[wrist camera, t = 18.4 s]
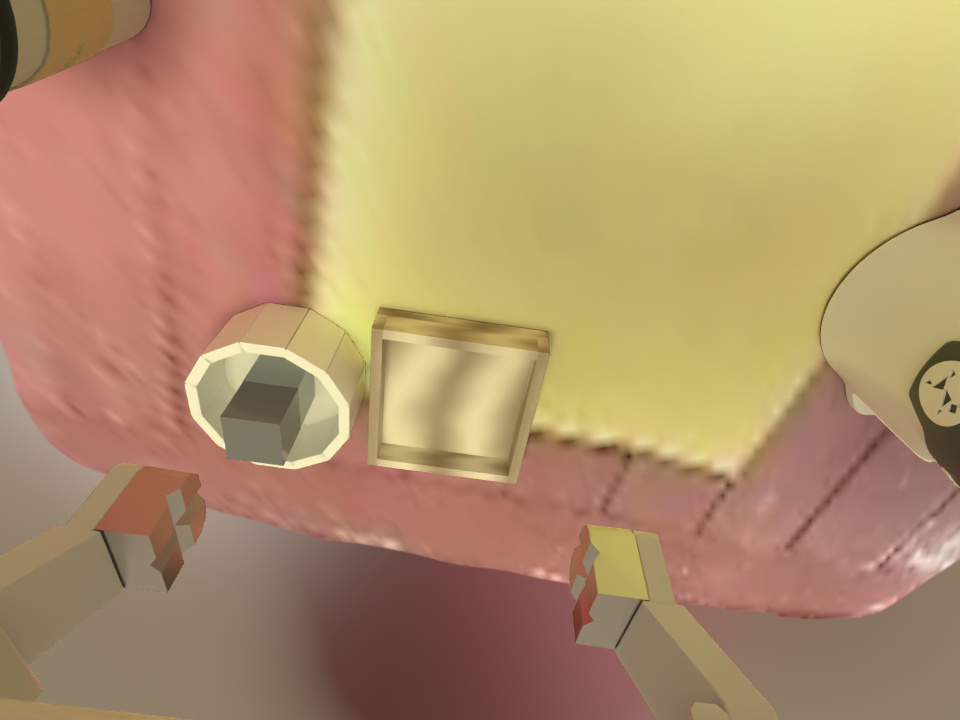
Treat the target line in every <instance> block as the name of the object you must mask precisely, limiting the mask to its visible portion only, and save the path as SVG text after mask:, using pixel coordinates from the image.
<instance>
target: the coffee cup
mask: <svg viewBox="0 0 960 720" xmlns="http://www.w3.org/2000/svg"><path fill="white" fill-rule="evenodd" d="M150 10H151V3H150V0H0V102H1V100H2V99H3V98H4V97H5V96H6V94H7V92H8V91H12V90H15V89H18V88H22V87H24V86H27V85H29V84H32V83H34V82H36V81H39V80H41V79H44V78H46V77H48V76H51V75H53V74H56V73H58V72H60V71H63V70H65V69H68V68H70V67H72V66H75V65H77V64H80V63H82V62H84V61H87V60H89V59H90V58H92V57H94V56H95V55H97V54H98V53H99V52H100V51H102V50H104V49H107V48H109V47H111V46H114V45H116V44H118V43H121V42H123V41H126V40H128V39H130V38H132V37H134V36H135V35H137V34H139V33H140V32H141V31H142V29H143V28H144V27H145V26H146V23H147V21H148V19H149V15H150Z"/></svg>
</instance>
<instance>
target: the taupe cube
mask: <svg viewBox="0 0 960 720" xmlns="http://www.w3.org/2000/svg"><path fill="white" fill-rule="evenodd" d="M243 381H249V382H256V383H264V384H271V385H278V386H285V387H292V388H298V389H299V406H300V422H301V426H302V423H303V421H304V419H305V417H306V415H307V413H308V410H309V408H310V406H311V404H312V402H313V400H314V397H315V382H314V375H313V374H311V373H309V372H308V371H306V370H304V369H302V368H301V367H299V366H297V365H296V364H294V363H292V362H290V361H289V360H287V359H285V358H284V357H277V356H270V355H262V354H260V355H259V357H258V358H257V360H256V362H255V363H254V365H253V366H252V368H251V369H250V371H249V372H248V374H247V375H246V377H245V378H244V380H243Z"/></svg>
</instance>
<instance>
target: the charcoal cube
mask: <svg viewBox="0 0 960 720" xmlns="http://www.w3.org/2000/svg"><path fill="white" fill-rule="evenodd" d="M220 418H221V424H222V430H223V436H224V442H225V448H226V454H227V459H235V460H242V461H250V462H258V463H265V464H273V465H280V466H284V464H285V462H286V460H287V457H288V455H289V453H290V451H291V449H292V447H293V444H294V442H295V440H296V438H297V436H298V433H299V431H300V429H301V422H300V406H299V389H298V388H292V387H285V386H278V385H271V384H264V383H256V382H249V381H243V383H242V384H241V386H240V387H239V389H238V390H237V392H236V393H235V395H234V396H233V398H232V399H231V401H230V402H229V404H228V405H227V407H226V409H225V410H224V412H223V413H222V415H221V416H220Z"/></svg>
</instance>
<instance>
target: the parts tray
mask: <svg viewBox="0 0 960 720" xmlns="http://www.w3.org/2000/svg"><path fill="white" fill-rule="evenodd" d="M549 354H550V351H549V342H548V332H547V331H540V330H533V329H526V328H519V327H512V326H505V325H498V324H491V323H484V322H477V321H470V320H463V319H456V318H449V317H442V316H435V315H428V314H422V313H415V312H408V311H401V310H394V309H387V308H379V311H378V314H377V316H376V319H375V321H374V324H373V326H372V337H371V369H370V401H369V433H368V464H369V465H376V466H384V467H391V468H399V469H407V470H414V471H422V472H429V473H437V474H445V475H452V476H460V477H467V478H475V479H483V480H490V481H498V482H505V483H513V484H516V482H517V478H518V474H519V470H520V466H521V462H522V459H523V455H524V451H525V447H526V443H527V439H528V435H529V432H530V428H531V424H532V420H533V416H534V412H535V408H536V405H537V401H538V397H539V393H540V389H541V385H542V381H543V378H544V374H545V370H546V366H547V362H548V358H549Z"/></svg>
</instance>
